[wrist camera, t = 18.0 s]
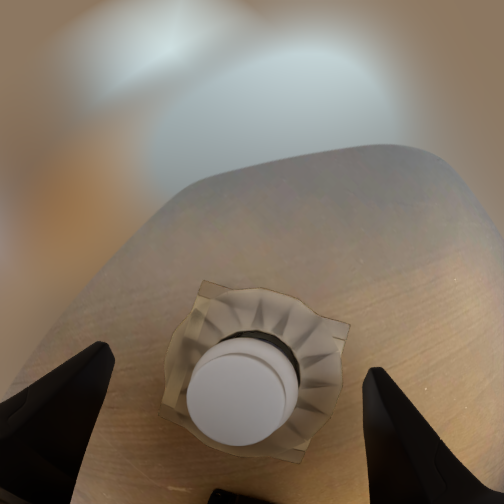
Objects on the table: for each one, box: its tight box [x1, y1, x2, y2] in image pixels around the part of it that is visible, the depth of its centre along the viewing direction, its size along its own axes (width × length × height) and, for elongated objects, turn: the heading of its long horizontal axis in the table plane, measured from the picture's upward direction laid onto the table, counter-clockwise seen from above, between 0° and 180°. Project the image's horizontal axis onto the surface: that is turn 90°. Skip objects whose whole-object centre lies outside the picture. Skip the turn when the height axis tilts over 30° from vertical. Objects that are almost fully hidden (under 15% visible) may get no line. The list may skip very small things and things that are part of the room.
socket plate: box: [158, 280, 350, 464], centre depth 18 cm, size 11×11×3 cm
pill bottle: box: [186, 337, 298, 446], centre depth 14 cm, size 5×5×10 cm
